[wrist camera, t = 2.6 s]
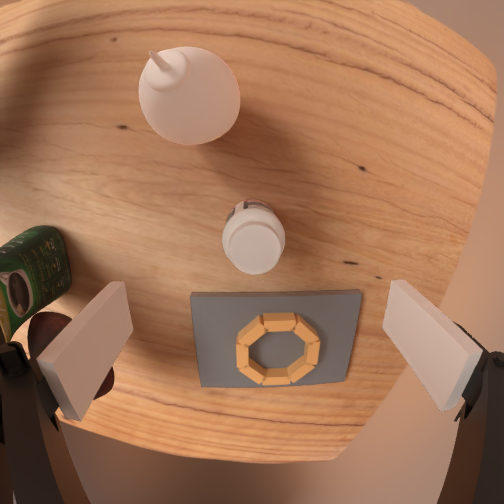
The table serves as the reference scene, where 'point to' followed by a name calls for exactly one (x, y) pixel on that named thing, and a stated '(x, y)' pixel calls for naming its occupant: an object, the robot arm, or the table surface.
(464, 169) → the table surface
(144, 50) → the table surface
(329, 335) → the socket board
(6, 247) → the coffee jar
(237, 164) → the table surface
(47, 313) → the decorative mushroom
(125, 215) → the table surface
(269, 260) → the pill bottle
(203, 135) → the sauce bottle
